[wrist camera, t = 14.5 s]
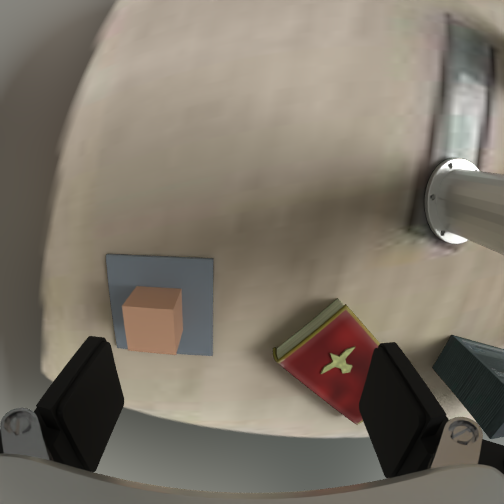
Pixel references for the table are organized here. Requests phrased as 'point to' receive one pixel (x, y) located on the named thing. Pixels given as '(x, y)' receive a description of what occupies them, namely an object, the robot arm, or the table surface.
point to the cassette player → (475, 380)
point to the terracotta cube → (153, 319)
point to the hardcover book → (331, 358)
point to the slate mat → (166, 276)
